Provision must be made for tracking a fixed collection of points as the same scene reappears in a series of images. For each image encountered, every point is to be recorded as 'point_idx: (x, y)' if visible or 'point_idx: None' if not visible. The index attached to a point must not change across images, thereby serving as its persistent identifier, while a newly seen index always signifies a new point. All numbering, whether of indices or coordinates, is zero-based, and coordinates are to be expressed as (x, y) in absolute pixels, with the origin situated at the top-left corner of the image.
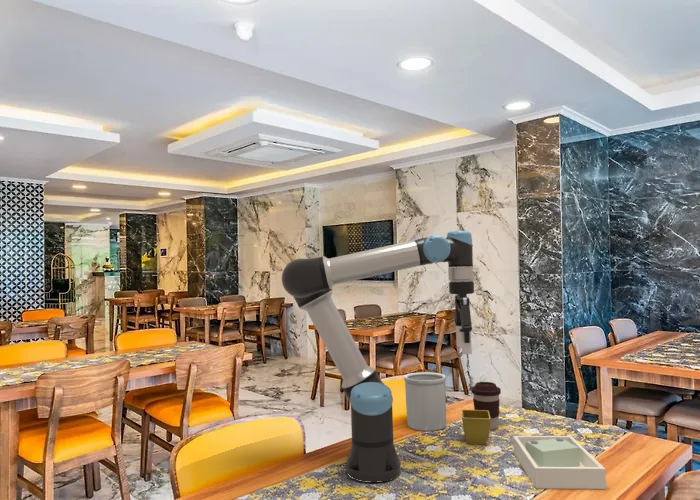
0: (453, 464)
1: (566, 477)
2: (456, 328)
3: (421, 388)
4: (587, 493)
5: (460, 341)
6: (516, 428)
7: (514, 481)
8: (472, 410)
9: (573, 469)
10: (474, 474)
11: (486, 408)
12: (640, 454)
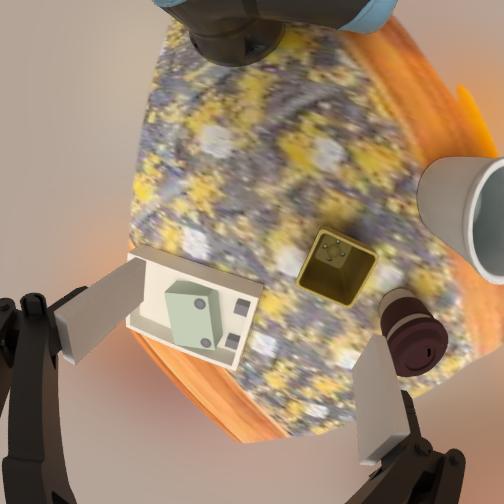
0: (238, 160)
1: None
2: (391, 419)
3: (467, 182)
4: None
5: (366, 369)
6: None
7: (163, 227)
8: (365, 277)
9: None
10: (193, 180)
11: (388, 319)
12: (222, 405)
